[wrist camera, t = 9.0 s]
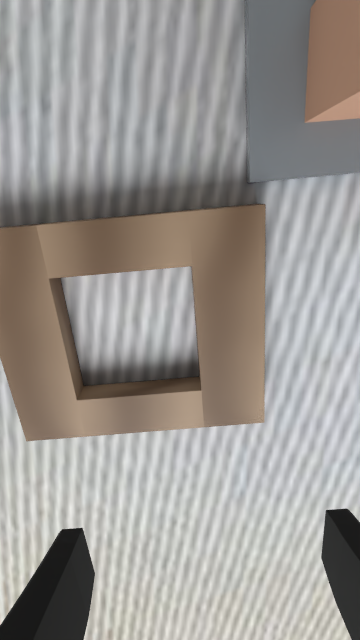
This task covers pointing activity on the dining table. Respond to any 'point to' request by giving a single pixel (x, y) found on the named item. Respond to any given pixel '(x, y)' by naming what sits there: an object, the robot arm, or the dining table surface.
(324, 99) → the block
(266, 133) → the coaster
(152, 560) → the dining table surface
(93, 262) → the pocket board
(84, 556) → the robot arm
